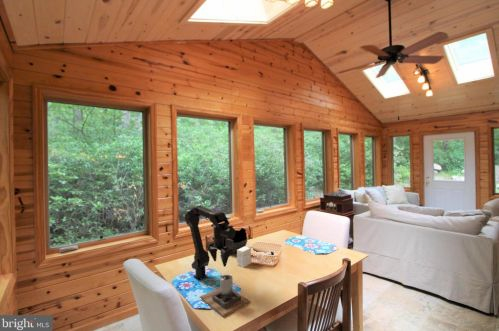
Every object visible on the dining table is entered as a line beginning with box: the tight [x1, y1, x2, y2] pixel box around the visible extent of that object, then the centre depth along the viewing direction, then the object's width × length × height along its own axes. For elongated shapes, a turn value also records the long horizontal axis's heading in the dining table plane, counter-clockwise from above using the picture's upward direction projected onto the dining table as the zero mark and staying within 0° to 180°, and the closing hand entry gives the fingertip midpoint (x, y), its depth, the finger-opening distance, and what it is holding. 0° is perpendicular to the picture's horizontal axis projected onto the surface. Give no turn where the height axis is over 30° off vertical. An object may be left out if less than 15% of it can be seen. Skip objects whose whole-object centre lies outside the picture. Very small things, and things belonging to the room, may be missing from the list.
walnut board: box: [199, 287, 251, 318], centre depth 123 cm, size 20×16×3 cm
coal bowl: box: [224, 227, 248, 254], centre depth 187 cm, size 20×20×19 cm
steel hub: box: [219, 274, 234, 303], centre depth 122 cm, size 6×6×11 cm
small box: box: [236, 246, 252, 268], centre depth 165 cm, size 8×6×10 cm
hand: (219, 263), depth 136 cm, fingers open, 9 cm apart
